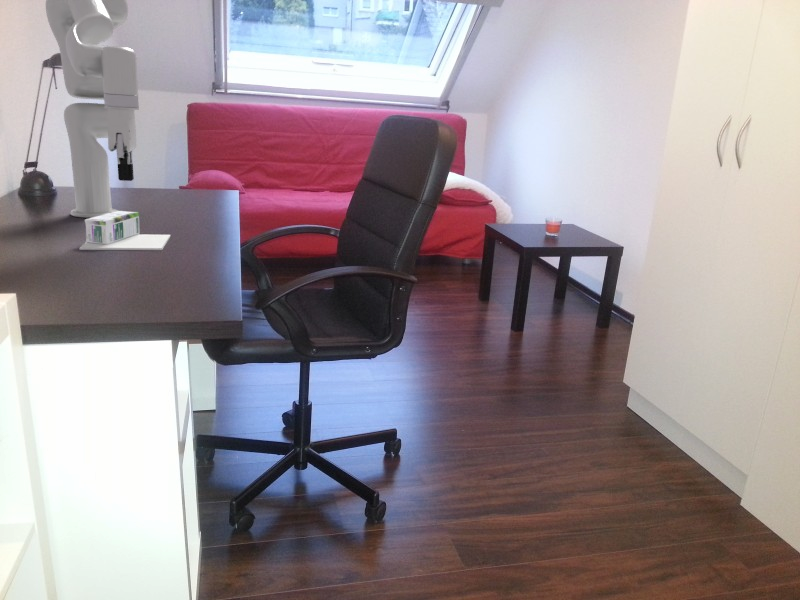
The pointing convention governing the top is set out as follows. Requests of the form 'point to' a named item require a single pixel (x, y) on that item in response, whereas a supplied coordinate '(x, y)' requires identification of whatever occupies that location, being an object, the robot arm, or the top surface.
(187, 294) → the top surface
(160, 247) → the mat
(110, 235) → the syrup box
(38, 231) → the top surface
